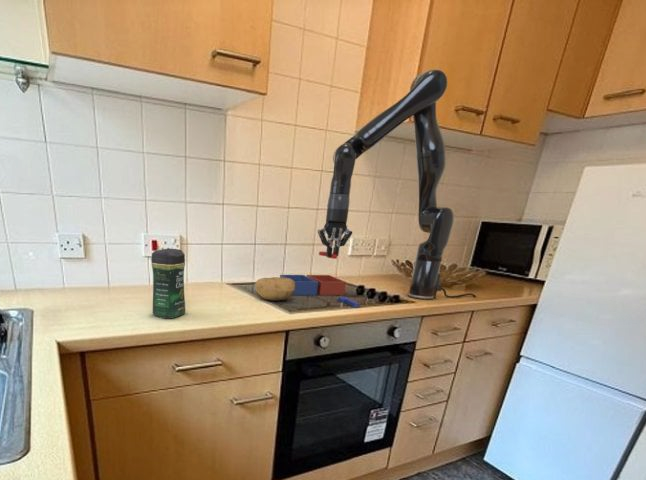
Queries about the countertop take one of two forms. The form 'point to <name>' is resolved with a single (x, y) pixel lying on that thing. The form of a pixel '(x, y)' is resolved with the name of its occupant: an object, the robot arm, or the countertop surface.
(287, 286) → the potato
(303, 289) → the blue bin
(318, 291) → the red bin
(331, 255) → the red spoon
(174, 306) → the coffee jar
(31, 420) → the countertop surface
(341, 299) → the blue spoon
